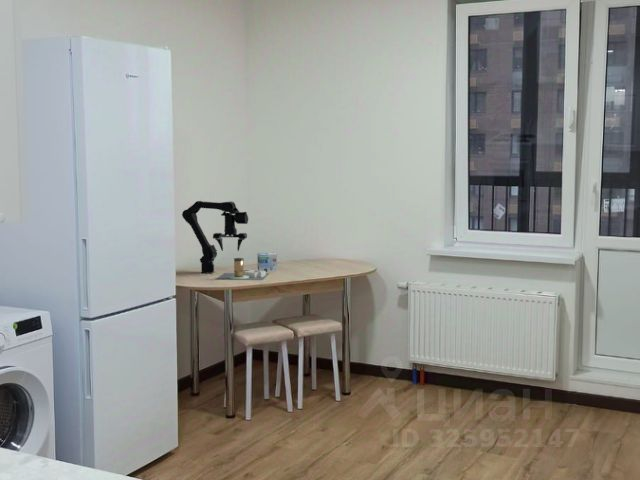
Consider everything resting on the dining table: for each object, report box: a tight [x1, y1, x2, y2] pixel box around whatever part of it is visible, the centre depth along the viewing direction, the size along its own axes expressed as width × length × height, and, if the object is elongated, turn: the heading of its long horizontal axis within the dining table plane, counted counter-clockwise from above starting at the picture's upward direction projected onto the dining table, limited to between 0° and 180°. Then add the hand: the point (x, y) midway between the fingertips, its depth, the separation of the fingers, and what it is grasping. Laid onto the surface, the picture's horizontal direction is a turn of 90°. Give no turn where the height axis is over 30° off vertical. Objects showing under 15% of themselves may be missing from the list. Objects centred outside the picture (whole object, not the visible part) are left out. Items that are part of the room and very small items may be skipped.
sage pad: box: [229, 275, 249, 281], centre depth 422 cm, size 11×11×1 cm
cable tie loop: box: [244, 269, 267, 277], centre depth 430 cm, size 11×9×3 cm
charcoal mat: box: [215, 272, 270, 281], centre depth 428 cm, size 26×24×1 cm
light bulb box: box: [257, 252, 278, 273], centre depth 448 cm, size 11×7×11 cm, turn 105°
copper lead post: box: [233, 257, 245, 277], centre depth 421 cm, size 5×5×10 cm
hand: (230, 250), depth 441 cm, fingers open, 9 cm apart
